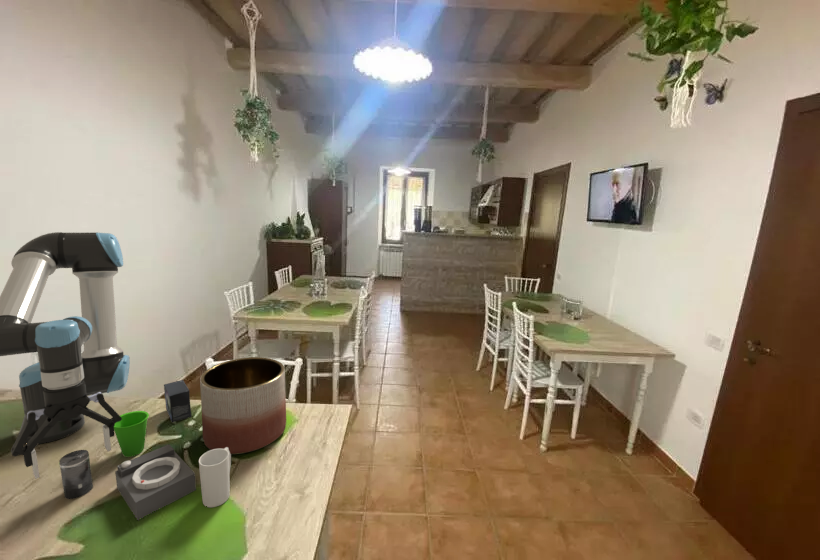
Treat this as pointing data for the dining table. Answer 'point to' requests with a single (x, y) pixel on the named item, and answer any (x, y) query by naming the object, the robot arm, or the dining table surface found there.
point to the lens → (76, 474)
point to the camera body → (154, 480)
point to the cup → (131, 432)
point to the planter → (243, 404)
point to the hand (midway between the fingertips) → (74, 461)
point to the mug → (215, 476)
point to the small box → (177, 400)
